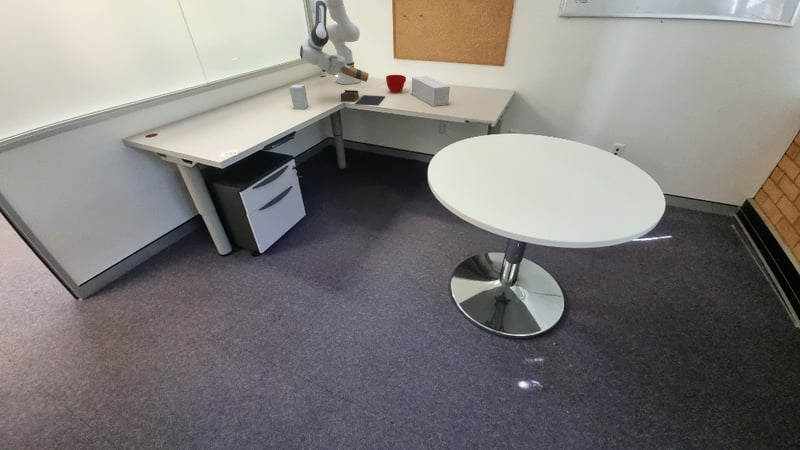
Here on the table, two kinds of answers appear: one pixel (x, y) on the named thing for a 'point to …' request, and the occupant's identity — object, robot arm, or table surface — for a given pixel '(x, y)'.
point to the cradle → (349, 95)
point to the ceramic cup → (395, 82)
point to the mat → (370, 100)
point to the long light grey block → (430, 90)
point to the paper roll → (355, 73)
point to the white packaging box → (298, 96)
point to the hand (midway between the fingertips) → (347, 70)
